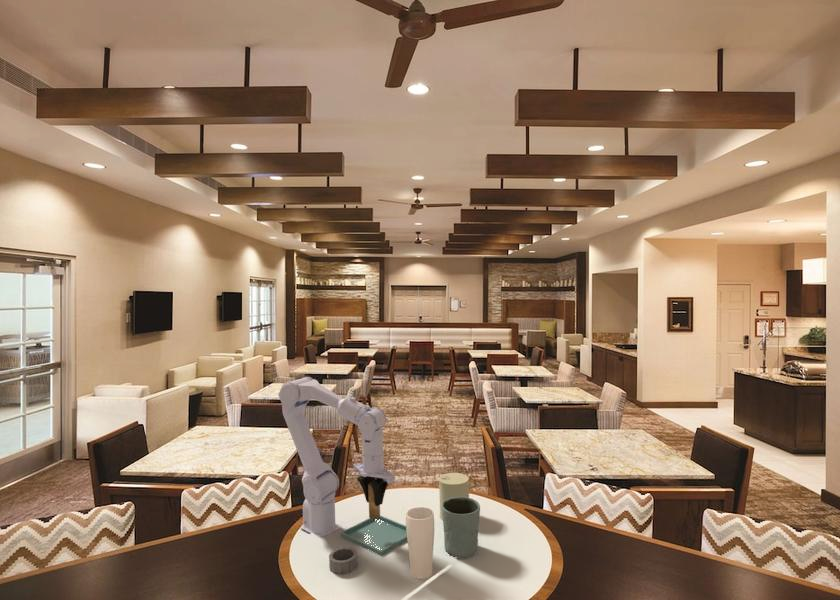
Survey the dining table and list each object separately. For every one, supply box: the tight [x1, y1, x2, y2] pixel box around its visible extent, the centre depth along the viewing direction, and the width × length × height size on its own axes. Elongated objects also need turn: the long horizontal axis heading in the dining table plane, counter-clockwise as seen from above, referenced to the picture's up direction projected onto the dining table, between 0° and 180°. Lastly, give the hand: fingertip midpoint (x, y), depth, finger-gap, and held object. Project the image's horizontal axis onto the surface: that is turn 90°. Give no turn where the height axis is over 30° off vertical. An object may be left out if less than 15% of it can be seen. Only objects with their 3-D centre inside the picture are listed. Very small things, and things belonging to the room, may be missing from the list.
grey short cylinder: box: [328, 546, 359, 575], centre depth 121 cm, size 7×7×3 cm
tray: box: [340, 515, 408, 556], centre depth 136 cm, size 16×14×2 cm
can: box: [438, 472, 470, 521], centre depth 147 cm, size 9×9×12 cm
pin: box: [368, 483, 381, 519], centre depth 134 cm, size 3×3×9 cm
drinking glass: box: [405, 506, 435, 580], centre depth 117 cm, size 7×7×15 cm
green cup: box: [442, 497, 481, 559], centre depth 128 cm, size 10×10×12 cm
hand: (374, 502), depth 134 cm, fingers closed on pin, 3 cm apart
